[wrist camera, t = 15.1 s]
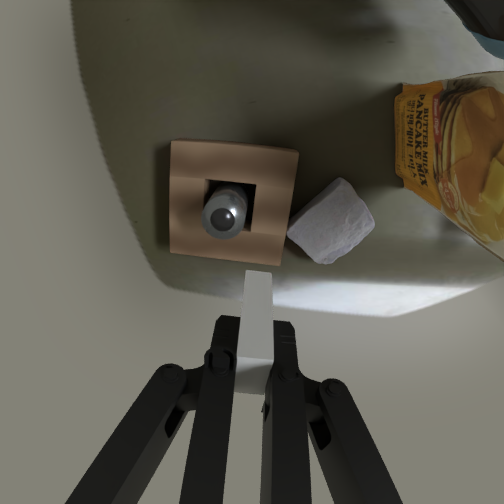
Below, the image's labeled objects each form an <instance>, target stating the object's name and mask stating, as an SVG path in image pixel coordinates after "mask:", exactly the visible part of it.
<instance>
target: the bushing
mask: <svg viewBox="0 0 504 504" xmlns="http://www.w3.org/2000/svg"><path fill="white" fill-rule="evenodd" d="M248 201H249V194H248V190H247V189H246V187H245V186H244V185H243V184H242V183H240V182H232V181H224V182H222V183H221V184H220V185H218V187H217V188H216V190H215V191H214V193H213V194H212V196H211V198H210V199H209V201H208V202H207V204H206V206H205V207H204V209H203V211H202V214H201V222H202V225H203V228H204V229H205V231H206V232H207V233H208V234H209V235H211V236H212V237H214V238H217V239H222V240H226V239H231V238H233V237H235V236H237V235H238V234H239V233H240V232H241V231H242V229H243V227H244V223H245V217H246V212H247V206H248Z"/></svg>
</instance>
